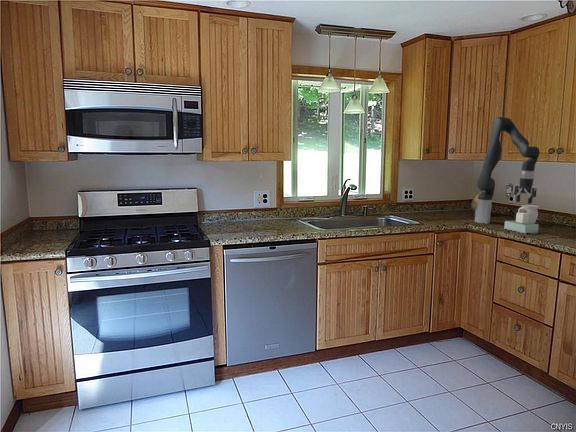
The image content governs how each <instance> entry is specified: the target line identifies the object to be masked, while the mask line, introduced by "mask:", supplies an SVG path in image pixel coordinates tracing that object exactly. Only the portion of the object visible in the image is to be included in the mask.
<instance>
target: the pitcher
mask: <svg viewBox="0 0 576 432" xmlns="http://www.w3.org/2000/svg"><path fill="white" fill-rule="evenodd" d="M540 207H541V206H540V205H533V204H522V205H521V207H519V208H518V211H517V213H527V214H529V218H528V223H533V224H536V221H537V220H538V217H539V213H538V208H540Z"/></svg>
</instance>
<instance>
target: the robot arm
mask: <svg viewBox="0 0 576 432" xmlns="http://www.w3.org/2000/svg"><path fill="white" fill-rule="evenodd" d="M501 132H505V133H507V134H508V135H509V136H510V139H511V141H512V143H513V144H514V146H515V147H516V148H517V149H518V151H519V154H520V155H521V156H522V157H524V158H527V160H526V161H523V162H522V164H521V165H522V166H521V172H520V176H519V177H520V178H519V185H515V187H514V191H513V195H514V196H516V197H515V199H516V200H515V201H516V202H517V203H519V202H521V195H523V194H525V195H526V196H527V197H528V200H527V205H532V203H533V198H536V197H537V187H533V185H534V178H535V170H536V169H535V167H536V164H537V162H538V160H539V158H540V157H539V156H540V148H539V147H537V146H531V145H530V142H529V140H528V139H527V138H526V137H525V136H523V134H522V133H521V132H520V130H519V129H518V128H517V126H516V125H515V124H514V122H513V120H512V119H510V118H508V117H501V116H498V117H496V118H495V119H494V121H493V122H492V125H491V133H490V137H489V138H490V139H489V142H488V147H487V149H486V154H485V157H484V161H483V165H482V169H481V172H480V175H479V177H478V180H477V185H476V186H477V188H478V189H479V191H480V190H481V193H480V194H479V195H478V202H477V209H476V212H475V215H474V222H475V223H478V224H483V223H484V225H485V224H487V225H488V224H490V220H491V211H492V208H491V203H492V202H493V196H494V194H495V188H496V187H495V186H496V182H495V179H494V178H493V177H492V174H493V171H494V169H495V168H496V167H497V165H498V163H499V161H500V159H501V155H502V151H503V150H502V144H501V139H500V137H501ZM529 145H530V146H529Z"/></svg>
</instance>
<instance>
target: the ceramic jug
mask: <svg viewBox="0 0 576 432" xmlns="http://www.w3.org/2000/svg"><path fill="white" fill-rule="evenodd" d="M480 193H481V190H480V189H479V191H478V193H476V195H475V196H474V197H473V199H472V201H471V204H470V209H471V211H472V213H473V216H475V212H476V209H477V202H478V195H479V194H480ZM492 207H493V204H492V203H491V209H492Z"/></svg>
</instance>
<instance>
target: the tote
mask: <svg viewBox="0 0 576 432" xmlns="http://www.w3.org/2000/svg"><path fill="white" fill-rule="evenodd" d="M515 222H516V220H505V221H504V227H503V229H504V230H505V229H507V230H506V231H510V230H512V231H511V232H514V231H516V232H515V233H519V232H520V234H523V233H524V235H526V233H530V234H538V233H539V226H540V224H539V223H534V224H533V223H528V224H527V225H523V224H518V223H515Z"/></svg>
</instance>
